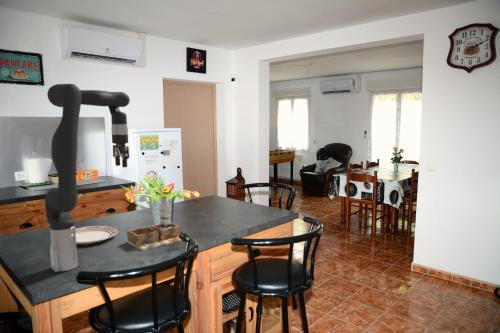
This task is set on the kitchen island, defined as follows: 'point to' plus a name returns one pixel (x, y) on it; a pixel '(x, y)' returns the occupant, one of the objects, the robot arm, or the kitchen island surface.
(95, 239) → the dinner plate
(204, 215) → the kitchen island surface
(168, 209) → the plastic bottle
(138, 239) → the socket board
